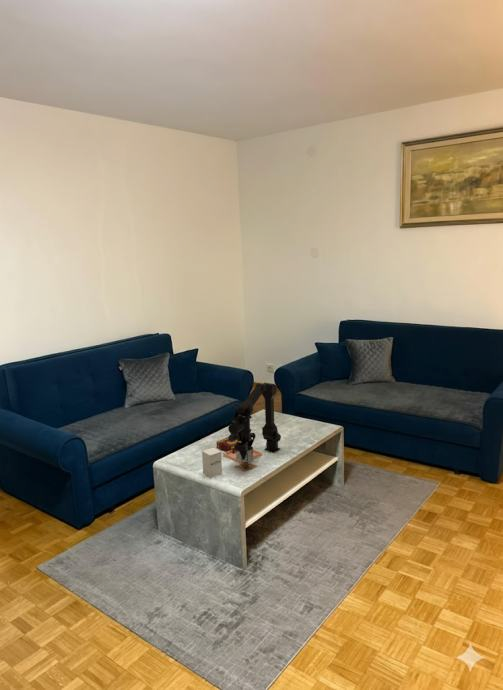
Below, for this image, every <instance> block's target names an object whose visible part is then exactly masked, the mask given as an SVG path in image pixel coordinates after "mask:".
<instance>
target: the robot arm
mask: <svg viewBox="0 0 503 690" xmlns="http://www.w3.org/2000/svg"><path fill="white" fill-rule="evenodd" d="M277 392H278V386H277V385H276V383H272V382H271V383H270V382H263V383H260V382H259V383H256V384H255V387H254V388H253V389H252V391H251V392H250V394H248V397H247V398H246V399H245V400H244V401H241V402H239V404H238V405H237V406H236V409H235V411H234V414H233V417H232V419H233V420H231V423H230V424H229V425H228V432H229V435H228V436H227V437H228V438H229V439H228V440H229V441H230V442H233V441H235V440H238V441H241V442H242V443H241V442H237V443H236V444H235V446H234V450H238V451H239V452H240V454H241V457H242V460H244V459H245V457H246V454H247V450H248V446H251V447H253V444H254V441H255V439H256V437H257V436H256V433H255V432H252V428H251V419H252V418H253V416H252V413H253V412H254V406H255V404H256V403H257V402H258V401H259V399H260V397H261V396H262V397H263V398H264V411H265V412H264V415H265V417H264V418H265V423H264V425H263V426H262V427H261V429H262V431H261V435H262V438H263V440H266V442H265V448H264V450H265V451H267V452H270V453H275V452H278V451H279V450H281V448H280V447H279V442H280V441H281V438H282V436H281V434H280V433H279V432H278V431H279V430H278V426H277V425H276V423H275V405H274V404H275V397H276V395H277Z"/></svg>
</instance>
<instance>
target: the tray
mask: <svg viewBox="0 0 503 690" xmlns="http://www.w3.org/2000/svg"><path fill="white" fill-rule="evenodd" d="M222 453H223V454H222V455H223V457H224V458H226V459H229V460H231V461H233V462H236V463H238V464H243V463H244V462H241V461H240V460H239V459H236V453H239V451H238V452H236V453H234V454H233V453H232V450H230V451H228V452H226V451H224V452H222ZM253 455H254V459H253V460H255V459H257V458H260V457H262V456H263V451H262V452H261V451H259V450H257V449H254V448H253Z"/></svg>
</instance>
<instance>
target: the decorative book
mask: <svg viewBox="0 0 503 690" xmlns="http://www.w3.org/2000/svg"><path fill="white" fill-rule="evenodd" d="M228 439H229V438H228V436H226V437H225V438H222V439H219V440H217V441H216V449H217V450H219V451H224V452H228V451H230V450H232V453H233V454H234V453H236V452H238V450H234V446H235V444H236V443H237V442H241V441H238V440H235V441H233V442H230V441H229V440H228ZM241 443H242V442H241Z"/></svg>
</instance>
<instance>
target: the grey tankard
mask: <svg viewBox="0 0 503 690" xmlns="http://www.w3.org/2000/svg"><path fill="white" fill-rule="evenodd" d="M253 449H254V447H253V446H252V447H251V446H248V450H247V454H246V457H245V459H244V460H242V457H241V454H240V452H239V453H236V459H239V460H240V461H241V462H249V463H251V462H252V461H254V460H255V459H254V455H253Z"/></svg>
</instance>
